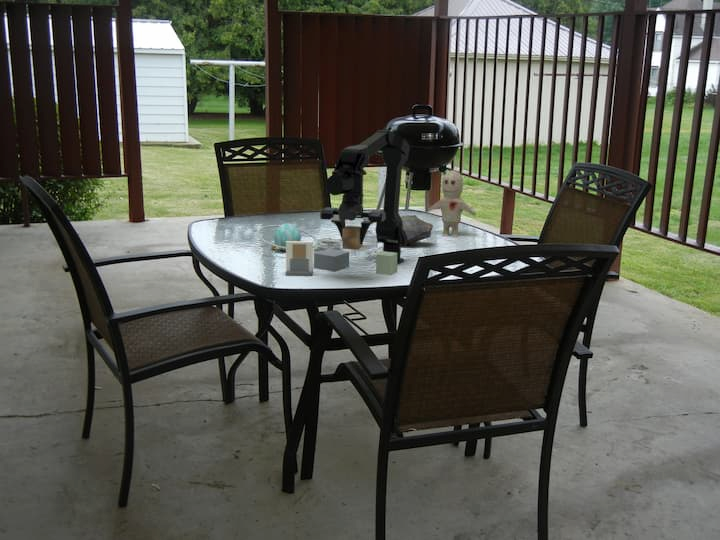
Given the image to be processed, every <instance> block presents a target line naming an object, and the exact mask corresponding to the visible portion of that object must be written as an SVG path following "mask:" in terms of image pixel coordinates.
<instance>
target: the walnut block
mask: <svg viewBox="0 0 720 540" xmlns="http://www.w3.org/2000/svg"><path fill="white" fill-rule="evenodd" d="M360 236H361V226H358V225H357V226H356V225H355V226H354V225H345V227H344V228H343V229H342V238H341V241H342V245H341V248H342V249H343V250H355V251H356V250H357V251H358V250H359V251H360V249H362V248H363V245H364V244H363V243H364V242H363V243H362V244H360Z"/></svg>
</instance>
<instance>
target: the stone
mask: <svg viewBox="0 0 720 540" xmlns="http://www.w3.org/2000/svg"><path fill="white" fill-rule="evenodd" d="M400 217H401V219H402V221H403V230H404V231H405V233H406V235H407V237H408V238H407V243H406V245H414V244H416V243H418V242H420V241H423V240H426V239H429V238H431V235H432V230H433V228H434V225H433V224H432V223H430V222H429V223H428V222H427V221H424V220H422V219H421V218H419V217H417V215H416V214H414V215H413V214H409V215H407V214H406V215H400Z"/></svg>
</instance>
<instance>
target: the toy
mask: <svg viewBox="0 0 720 540" xmlns="http://www.w3.org/2000/svg"><path fill="white" fill-rule="evenodd" d="M441 183H442V184H441V185H442V186H441V187H442V188H441V189H442V193H443V197H441V198H439V200H438V201H436V202H435V203H434V204H433V205H431V206H430V207H429V208H427V211H428V212H431V211H433V210H436V209H440V212H441V221H442V223H443V231H442V232H443V233H442V235H441V236H442V237H449V235H450V228H451V236H450V237H451V238H457V237H458V236H459V224H460V222H461V219H462V218H461V217H462V212H463V211H465V213H466V212H467V213H469V214H470V215H472V216H476V214H477V213H476V211H475V210H474V209H473V208H472V207H471V206H470V205H469V204H468V203H467V202H466V201H465V200H464V199H463V198H461V195H462V193H463V189H464V178H463V176H462V174H461V173H460V172H459V171H457V170H454V169H452V170H449V171H447V172H446V173H445V174H444V175H443V177H442V181H441Z"/></svg>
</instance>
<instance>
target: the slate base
mask: <svg viewBox="0 0 720 540" xmlns="http://www.w3.org/2000/svg"><path fill="white" fill-rule="evenodd" d="M349 267H350V252H349V251H348V250H346V251H345V250H339V249H333V248H326V249H324V250H323V249H322V250H320V251H317V252H314V253H313V269H317V270H324V271H329V272H338V271H340V270H344V269H346V268H349Z"/></svg>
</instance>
